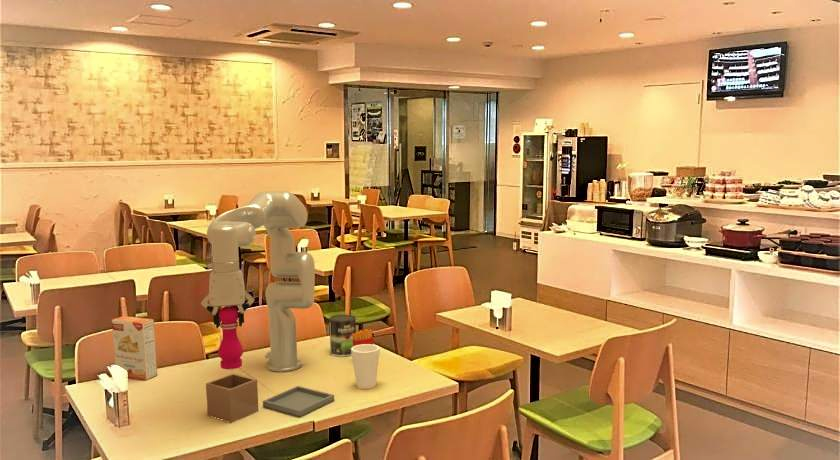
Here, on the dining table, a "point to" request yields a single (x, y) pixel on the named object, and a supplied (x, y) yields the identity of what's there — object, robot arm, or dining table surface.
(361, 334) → the french fries
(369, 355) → the foam cup
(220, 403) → the open box
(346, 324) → the coffee can
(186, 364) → the dining table surface
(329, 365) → the dining table surface
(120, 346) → the cracker box
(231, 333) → the pepper mill
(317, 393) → the tray
